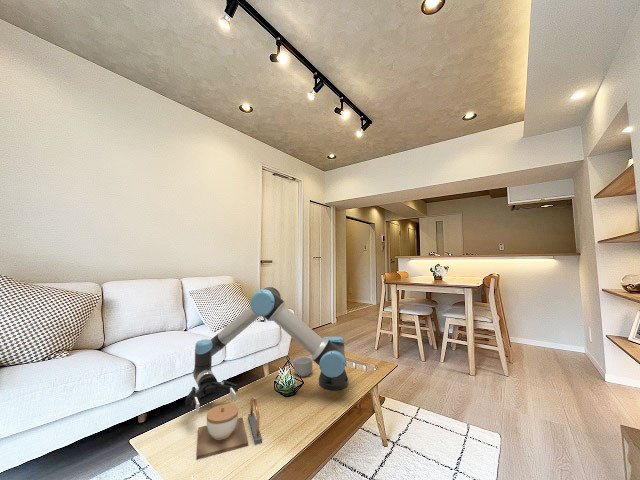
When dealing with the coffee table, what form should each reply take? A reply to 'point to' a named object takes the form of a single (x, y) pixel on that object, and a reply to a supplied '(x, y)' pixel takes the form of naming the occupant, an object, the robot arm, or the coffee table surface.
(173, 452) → the coffee table surface
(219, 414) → the lidded jar
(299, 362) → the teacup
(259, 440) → the wire stand
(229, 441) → the pad
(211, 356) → the robot arm
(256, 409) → the buzz wire
